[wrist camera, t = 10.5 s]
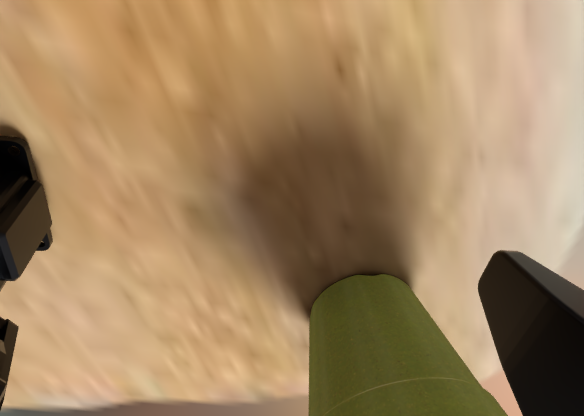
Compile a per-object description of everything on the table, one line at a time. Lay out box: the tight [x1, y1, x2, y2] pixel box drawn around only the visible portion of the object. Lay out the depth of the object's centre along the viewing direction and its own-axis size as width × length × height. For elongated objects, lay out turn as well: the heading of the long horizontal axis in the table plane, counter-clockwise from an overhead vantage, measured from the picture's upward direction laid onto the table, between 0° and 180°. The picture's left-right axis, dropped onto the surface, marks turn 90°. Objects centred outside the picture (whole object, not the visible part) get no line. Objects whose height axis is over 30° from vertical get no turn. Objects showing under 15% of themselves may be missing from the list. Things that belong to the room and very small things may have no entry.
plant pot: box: [309, 274, 508, 416], centre depth 24 cm, size 12×12×11 cm
